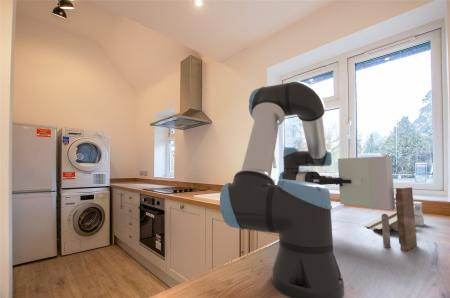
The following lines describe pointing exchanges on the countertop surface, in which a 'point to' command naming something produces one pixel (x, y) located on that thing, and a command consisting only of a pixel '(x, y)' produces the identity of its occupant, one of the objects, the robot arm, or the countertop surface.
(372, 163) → the cream thick square slab
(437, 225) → the countertop surface
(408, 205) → the walnut cabinet side
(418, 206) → the light bulb box
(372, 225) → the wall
